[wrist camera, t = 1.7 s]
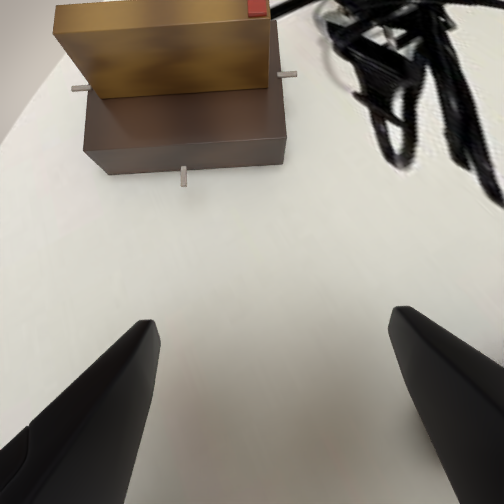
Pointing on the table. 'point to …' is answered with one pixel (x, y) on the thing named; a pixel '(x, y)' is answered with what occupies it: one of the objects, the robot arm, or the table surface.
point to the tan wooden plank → (167, 45)
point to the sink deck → (189, 127)
